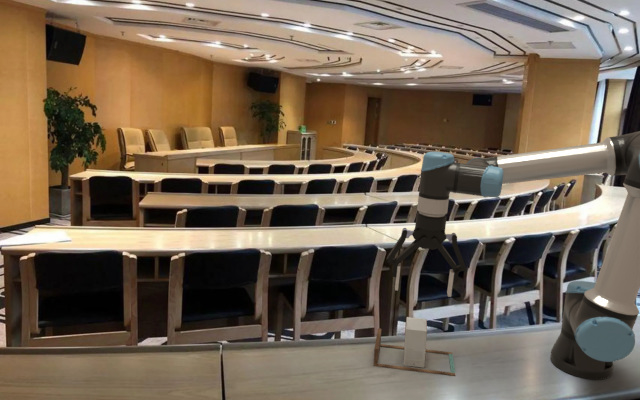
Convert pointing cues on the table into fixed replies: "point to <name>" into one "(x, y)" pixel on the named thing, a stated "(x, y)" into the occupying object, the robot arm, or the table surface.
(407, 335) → the small box
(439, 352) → the bay
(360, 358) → the table surface
